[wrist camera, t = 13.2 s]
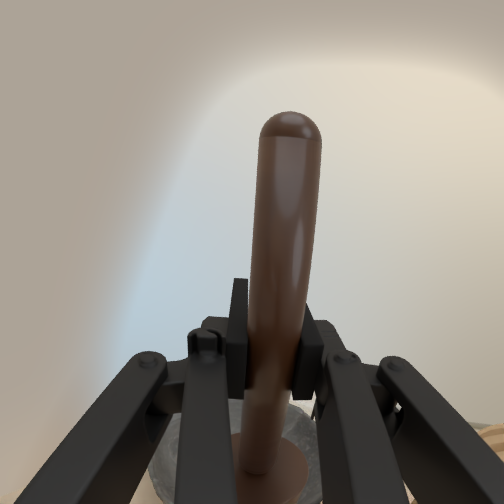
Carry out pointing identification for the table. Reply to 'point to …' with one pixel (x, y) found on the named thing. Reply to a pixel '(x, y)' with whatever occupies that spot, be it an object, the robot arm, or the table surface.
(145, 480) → the table surface
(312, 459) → the bowl
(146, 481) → the table surface
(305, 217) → the brown peg on base
